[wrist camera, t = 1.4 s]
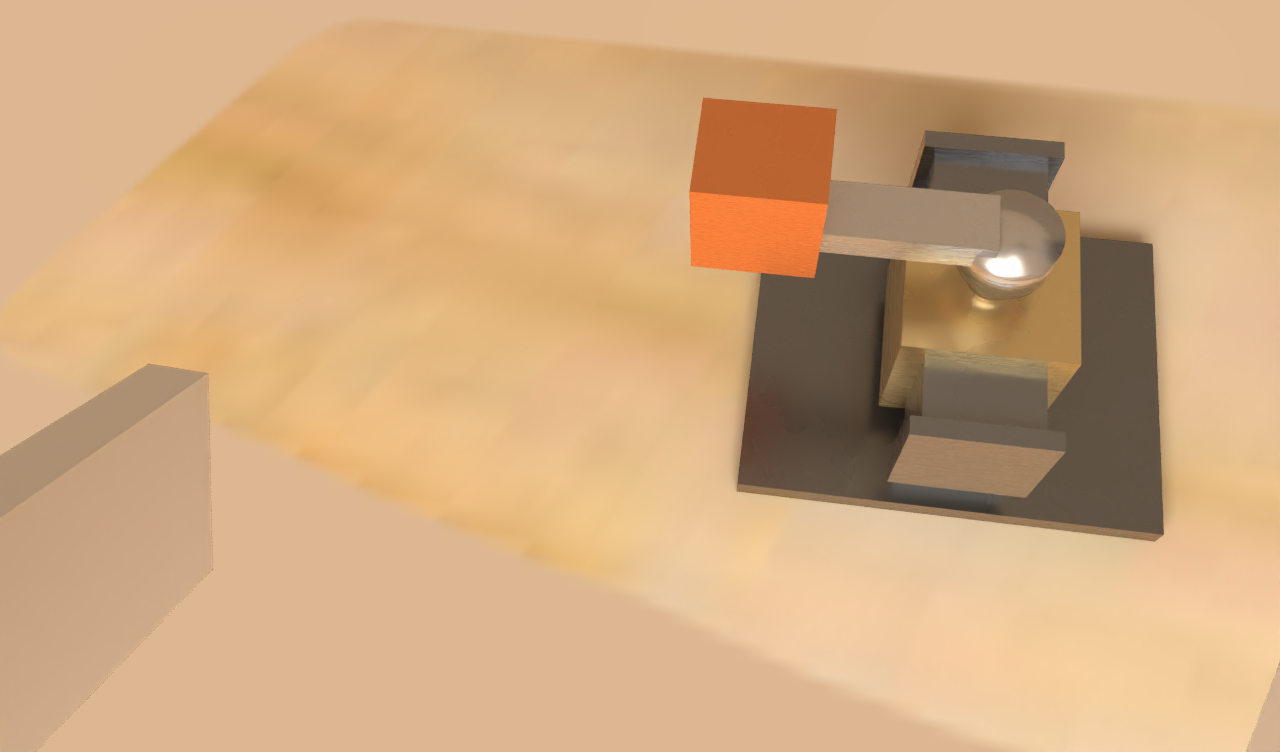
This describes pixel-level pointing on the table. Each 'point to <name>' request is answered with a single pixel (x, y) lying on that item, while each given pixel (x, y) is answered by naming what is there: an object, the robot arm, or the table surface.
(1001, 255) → the valve lever
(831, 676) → the table surface
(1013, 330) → the valve body
